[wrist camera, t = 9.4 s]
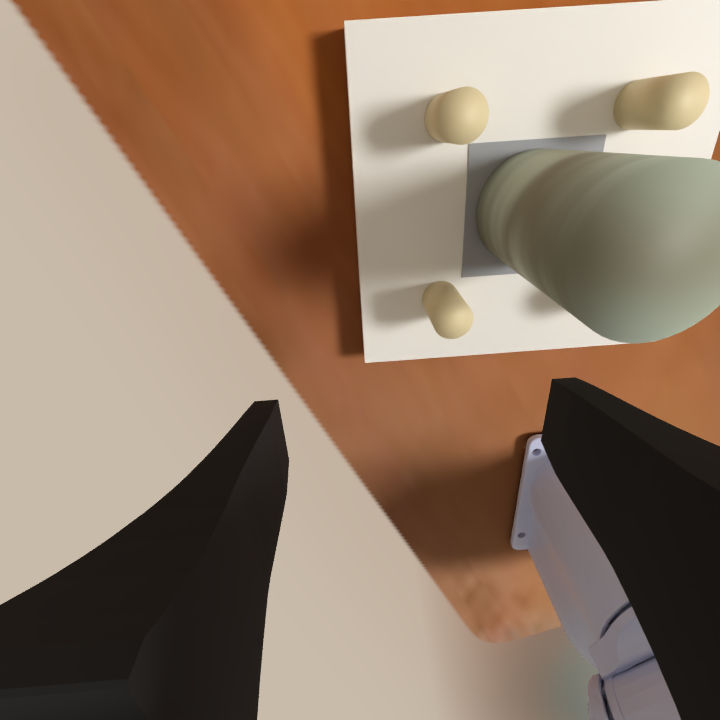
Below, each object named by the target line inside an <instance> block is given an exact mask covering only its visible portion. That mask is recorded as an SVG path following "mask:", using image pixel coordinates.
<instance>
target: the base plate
mask: <svg viewBox="0 0 720 720" xmlns="http://www.w3.org/2000/svg"><path fill="white" fill-rule="evenodd" d="M344 39H345V55H346V71H347V88H348V104H349V120H350V136H351V153H352V169H353V185H354V201H355V218H356V234H357V250H358V267H359V283H360V299H361V315H362V332H363V348H364V358H365V363H370V362H383V361H397V360H410V359H424V358H437V357H451V356H465V355H478V354H492V353H505V352H519V351H532V350H546V349H559V348H573V347H586V346H600V345H613V344H627V343H622V342H617V341H613V340H609V339H607V338H605V337H602V336H600V335H599V334H597V333H595V332H594V331H592V330H591V329H590V328H588V327H587V326H586V325H585V324H583V323H582V322H581V321H579V320H578V319H577V318H575V317H574V316H573V315H572V314H570V313H569V312H568V311H566V310H565V309H564V308H562V307H561V306H560V305H558V304H557V303H556V302H555V301H553V300H552V299H551V298H549V297H548V296H547V295H545V294H544V293H543V292H542V291H540V290H539V289H538V288H536V287H535V286H534V285H532V284H531V283H530V282H528V281H527V280H526V279H525V278H523V277H522V276H521V275H519V274H518V273H517V272H515V271H514V270H513V269H511V268H510V267H509V266H508V265H506V264H505V263H504V262H502V261H501V260H500V259H498V258H497V257H496V256H495V255H493V254H492V253H491V252H490V251H489V250H488V249H487V248H486V247H485V245H484V244H483V242H482V241H481V238H480V236H479V234H478V230H477V225H476V208H477V203H478V199H479V196H480V193H481V190H482V188H483V186H484V184H485V183H486V181H487V180H488V178H489V177H490V175H491V174H492V173H493V172H494V170H495V169H496V168H497V167H499V166H500V165H501V164H502V163H503V162H504V161H506V160H507V159H509V158H510V157H512V156H514V155H516V154H518V153H520V152H523V151H526V150H530V149H538V148H545V149H561V150H578V151H594V152H611V153H627V154H644V155H660V156H677V157H693V158H705V159H711V157H712V153H713V150H714V147H715V144H716V140H717V137H718V134H719V131H720V0H662V1H647V2H631V3H615V4H600V5H584V6H568V7H553V8H537V9H521V10H506V11H490V12H475V13H459V14H443V15H428V16H412V17H396V18H381V19H365V20H349V21H344ZM653 342H654V341H653Z"/></svg>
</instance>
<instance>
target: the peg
mask: <svg viewBox="0 0 720 720" xmlns="http://www.w3.org/2000/svg"><path fill="white" fill-rule="evenodd" d="M476 225H477V230H478V234H479V236H480V238H481V241H482V242H483V244H484V245H485V247H486V248H487V249H488V250H489V251H490V252H491V253H492V254H493V255H495V256H496V257H497V258H498V259H500V260H501V261H502V262H504V263H505V264H506V265H508V266H509V267H510V268H511V269H513V270H514V271H515V272H517V273H518V274H519V275H521V276H522V277H523V278H525V279H526V280H527V281H528V282H530V283H531V284H532V285H534V286H535V287H536V288H538V289H539V290H540V291H542V292H543V293H544V294H545V295H547V296H548V297H549V298H551V299H552V300H553V301H555V302H556V303H557V304H558V305H560V306H561V307H562V308H564V309H565V310H566V311H568V312H569V313H570V314H572V315H573V316H574V317H575V318H577V319H578V320H579V321H581V322H582V323H583V324H585V325H586V326H587V327H588V328H590V329H591V330H592V331H594V332H595V333H597V334H599V335H600V336H602V337H605V338H607V339H609V340H613V341H617V342H622V343H646V342H653V341H657V340H661V339H664V338H667V337H670V336H673V335H675V334H677V333H679V332H682V331H684V330H686V329H688V328H689V327H691V326H693V325H694V324H696V323H698V322H699V321H700V320H702V319H703V318H705V317H706V316H707V315H709V314H710V313H711V312H712V311H713V310H715V309H716V308H717V307H718V306H719V305H720V161H717V160H712V159H705V158H693V157H677V156H660V155H644V154H627V153H611V152H594V151H578V150H561V149H545V148H538V149H530V150H526V151H523V152H520V153H518V154H516V155H514V156H512V157H510V158H509V159H507V160H506V161H504V162H503V163H502V164H501V165H500V166H499V167H497V168H496V169H495V170H494V172H493V173H492V174H491V175H490V177H489V178H488V180H487V181H486V183H485V184H484V186H483V188H482V190H481V193H480V196H479V199H478V203H477V208H476Z"/></svg>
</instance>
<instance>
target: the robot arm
mask: <svg viewBox="0 0 720 720" xmlns="http://www.w3.org/2000/svg"><path fill="white" fill-rule="evenodd" d="M535 449H537V450H536V451H533V450H535ZM288 467H289V457H288V452H287V446H286V441H285V436H284V430H283V425H282V419H281V414H280V408H279V402H278V400H267V401H255V402H254V403H253V404H252V405H251V406H250V407H249V408H248V410H247V411H246V412H245V413H244V414H243V415H242V417H241V418H240V419H239V420H238V421H237V423H236V424H235V425H234V426H233V427H232V428H231V430H230V431H229V432H228V433H227V434H226V435H225V437H224V438H223V439H222V440H221V441H220V442H219V443H218V444H217V446H216V447H215V448H214V449H213V450H212V451H211V452H210V453H209V454H208V455H207V456H206V457H205V458H204V460H202V462H200V463H199V464H198V465H197V467H195V468H194V469H193V470H192V471H191V473H190V474H189V475H188V476H187V477H186V478H184V479H183V480H182V481H181V482H180V483H179V484H178V485H177V486H176V487H175V488H173V489H172V490H171V491H170V492H169V493H168V494H166V495H165V496H164V497H163V498H162V499H161V500H159V501H158V502H157V503H156V504H155V505H154V506H152V507H151V508H150V509H148V510H147V511H146V512H145V513H143V514H142V515H141V516H139V517H138V518H137V519H135V520H134V521H132V522H131V523H130V524H128V525H127V526H126V527H124V528H123V529H122V530H120V531H119V532H118V533H116V534H115V535H114V536H112V537H111V538H109V539H108V540H107V541H105V542H104V543H102V544H101V545H99V546H98V547H96V548H95V549H93V550H92V551H90V552H89V553H87V554H86V555H84V556H83V557H81V558H80V559H78V560H77V561H75V562H73V563H72V564H70V565H68V566H67V567H65V568H64V569H62V570H60V571H59V572H57V573H56V574H54V575H52V576H51V577H49V578H47V579H46V580H44V581H43V582H41V583H39V584H37V585H35V586H34V587H32V588H30V589H28V590H26V591H25V592H23V593H21V594H19V595H17V596H16V597H14V598H12V599H10V600H8V601H7V602H5V603H3V604H1V605H0V720H257V712H258V699H259V684H260V672H261V661H262V650H263V638H264V628H265V617H266V606H267V597H268V589H269V583H270V577H271V571H272V566H273V561H274V556H275V551H276V546H277V541H278V536H279V531H280V526H281V521H282V516H283V511H284V505H285V500H286V495H287V482H288ZM510 542H511V545H512V548H513V549H515V550H525V549H528V551H529V553H530V555H531V558H532V560H533V562H534V564H535V567H536V569H537V571H538V573H539V576H540V578H541V580H542V582H543V584H544V587H545V589H546V591H547V593H548V596H549V598H550V600H551V602H552V605H553V607H554V609H555V611H556V614H557V616H558V618H559V620H560V622H561V625H562V627H563V629H564V631H565V633H566V635H567V637H568V638H569V640H570V642H571V643H572V645H573V646H574V647H575V648H576V650H577V651H578V652H579V653H580V654H581V655H582V656H583V657H584V658H585V659H586V660H587V661H588V662H589V663H590V664H592V665H593V666H594V667H595V668H597V669H598V671H599V674H596V675H594V676H593V677H592V678H591V679H590V680H589V683H588V714H589V719H590V720H720V446H717V445H715V444H713V443H710V442H708V441H706V440H703V439H701V438H699V437H697V436H695V435H692V434H690V433H688V432H686V431H684V430H681V429H679V428H677V427H675V426H673V425H671V424H669V423H667V422H665V421H662V420H660V419H658V418H656V417H654V416H652V415H650V414H648V413H646V412H644V411H642V410H640V409H638V408H636V407H635V406H633V405H631V404H629V403H627V402H625V401H623V400H621V399H619V398H617V397H615V396H613V395H611V394H609V393H607V392H605V391H603V390H601V389H599V388H597V387H595V386H593V385H591V384H589V383H587V382H585V381H583V380H580V379H578V378H562V379H552V382H551V388H550V393H549V399H548V404H547V409H546V415H545V420H544V426H543V431H542V434H537V435H533V436H531V437H530V438H529V439H528V441H527V444H526V450H525V456H524V462H523V469H522V475H521V481H520V487H519V493H518V499H517V505H516V511H515V517H514V523H513V529H512V535H511V541H510Z"/></svg>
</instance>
